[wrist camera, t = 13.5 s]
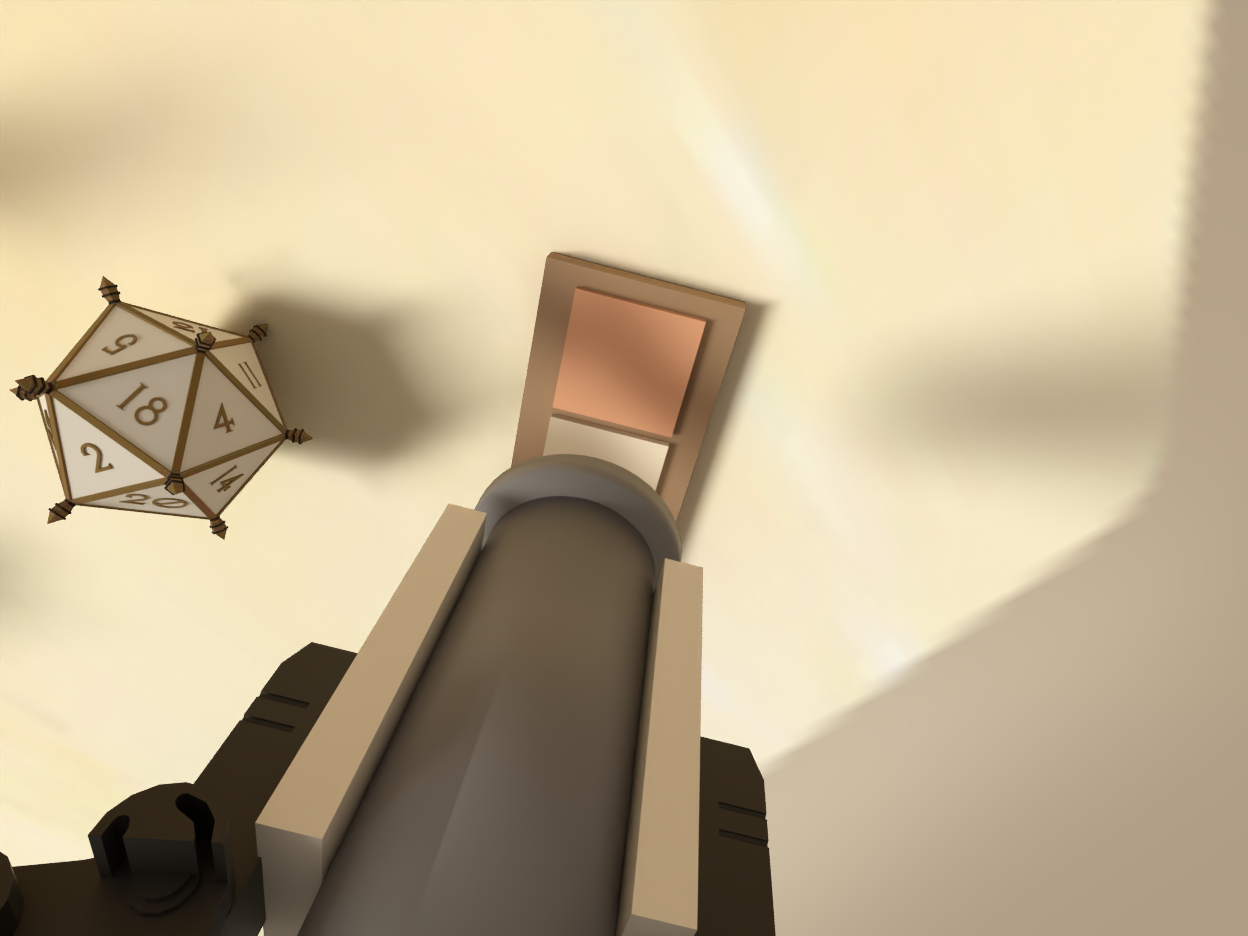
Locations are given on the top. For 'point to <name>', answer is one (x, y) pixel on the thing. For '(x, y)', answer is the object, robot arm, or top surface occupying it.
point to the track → (624, 371)
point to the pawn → (517, 725)
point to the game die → (158, 415)
